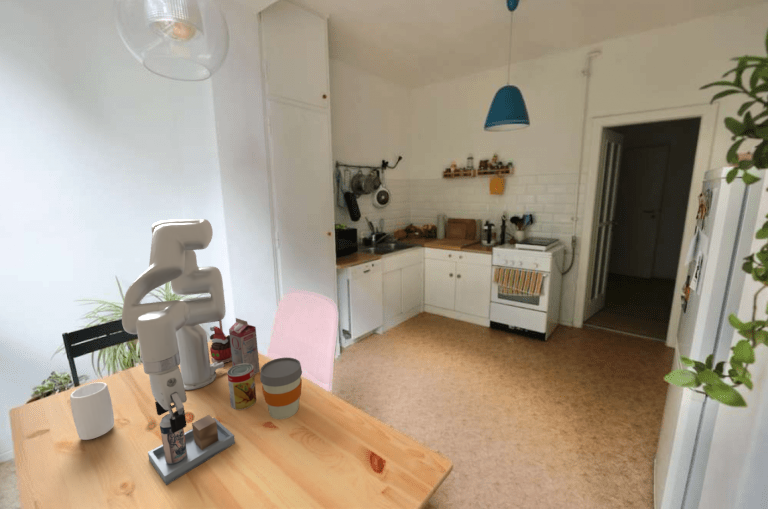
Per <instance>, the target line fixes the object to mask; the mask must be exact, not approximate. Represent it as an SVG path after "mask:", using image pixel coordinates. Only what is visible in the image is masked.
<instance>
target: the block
mask: <svg viewBox="0 0 768 509" xmlns="http://www.w3.org/2000/svg"><path fill="white" fill-rule="evenodd" d="M213 418H214V417H212V416H211V415H210V414H208V415H207V414H206V416H204V417H202V418H200V419H198V420H195V421H193V422H192V423H191V427H192V429H193V435H194V442H195V443H196V445H197V446H198V447H199V448H200V449H201V450H203V449H205V448H206V447H208V446H210V445H212V444H213V443H215V442H217V441H218V431H217V423H216V421H215V420H214V419H213Z"/></svg>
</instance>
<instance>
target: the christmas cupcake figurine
mask: <svg viewBox="0 0 768 509" xmlns="http://www.w3.org/2000/svg"><path fill="white" fill-rule="evenodd" d="M222 321H223V319H222V320H220V321H218V323H219V324H218V325H219V326H216V325H212V326H211V327H209V331H210V332H214V333H212V334H211V335H209V339H210V341H211V345H210V347H209V349H210V350H209V352H210V355H211V362H212V363H215V362H217V363H221V362H223V363H224V364H225V363H229V362H231V361H232V353H231V344H230V334H228V335H227V336H226V334H225V333H224V331H223V322H222Z"/></svg>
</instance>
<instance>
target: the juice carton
mask: <svg viewBox="0 0 768 509" xmlns="http://www.w3.org/2000/svg"><path fill="white" fill-rule="evenodd" d="M256 328H257V327H256V326H254V325H251V324H249V323H248V321H247V320H244V319H241V318H237V317H235V322H234V324H232V326H230V327H229V329H228V335H230V344H231V353H232V360H231V361H232V367H233V366H235V365H237V364H242V363H249V364H252V365H253V369H254V376H255V375H256V374H258V373H260V372H261V368H260V362H259V361H260V360H259V358H260V357H259V347H258V340H257V338H258V337H257V329H256Z"/></svg>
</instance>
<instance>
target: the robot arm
mask: <svg viewBox="0 0 768 509" xmlns="http://www.w3.org/2000/svg"><path fill="white" fill-rule="evenodd" d="M151 234H152V237H151V243H150V254H149V255H150V256H149V265H148V268H147V269H146V270H145V271H143V272H142V273H141V274H140V275H139V276H137V277H136V278H135V280H134V281H133V282H132V283H131V284H130V286H129V287H128V289H127V290H126V292H125V295H124V299H123V307H122V312H121V324H122V327H123V331H125V332H126V333H128V334H131V335H137V340H138V345H139V350H140V356H141V360H142V361H141V362H142V365H143V371H144V374H146V375H148V377H149V384H150V389H151V393H152V396H153V397H154V400H155V402H154V403H155V409H156V415H157V416H161V415H163V414H166V413H168V414H170V416H171V418H170V424H171V430H172V433H175V432H177V431H179V430H181V429H185V428H186V427H187V419H186V412H185V411H186V410H185V405H184V403H186V402H187V400H188V397H187V393H186V391H190V390H196V389H201V388H204V387H205V386H208V385H210V384H211V383H212V382H214V380H216V378H217V373H216V371H217V370H218V369H222V368H224V367H225V362H224V363H223V362H221V363H217V362H215V363H214V362H212V363H211V360H210V353H209V352H210V350H209V343H208V335H207V332H206V330H205V329H204V328H203V327H202V326H201V325H202V324H210V323H215V322H219V321H220V320H222V321H223V319H225V316H226V301H225V294H224V293H225V291H224V282H223V276H222V273H221V270H220V269H219V268H218V267H216V266H200V267H199V266H198V260H197V254H196V252H195V251H197V250H199V251H200V250H206V249H207V248H208V247H209V245H210V243H211V242H212V239H213V227H212V224H211V223H210V221H209V220H208V219H205V218H193V219H192V218H191V219H190V218H189V219H166V220H159V221H157V222H154V223H153V224H152V225H151ZM168 283H170V284H171V290H172V291H173V292H172V293H174V294H175V295H176V296H192V295H202V294H208V296H200V297H191V298H189V297H188V298H182V299H179V300H178V299H177V300H173V299H172V300H166V301H153V302H144V303H142V301H143V300H144V298H145V297H146V296H147V295H148V294H149V293H151V292H152V291H154V290H156V289H157V288H160V287H161V286H163V285H166V284H168ZM172 404H173V405H172ZM174 408H175V411H173V409H174Z"/></svg>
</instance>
